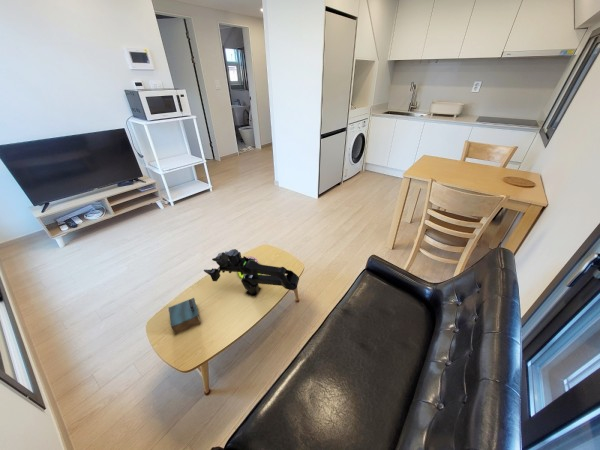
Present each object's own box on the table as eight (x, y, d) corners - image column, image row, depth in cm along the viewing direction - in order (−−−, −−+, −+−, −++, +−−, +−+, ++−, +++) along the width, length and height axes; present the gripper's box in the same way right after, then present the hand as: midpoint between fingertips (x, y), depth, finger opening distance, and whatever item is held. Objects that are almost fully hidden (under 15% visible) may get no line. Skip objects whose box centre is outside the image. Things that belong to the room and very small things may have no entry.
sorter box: (195, 306, 131) (193, 299, 128) (200, 323, 122) (197, 316, 119) (172, 315, 126) (168, 308, 123) (175, 334, 117) (171, 327, 114)
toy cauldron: (253, 260, 162) (251, 247, 156) (266, 271, 153) (265, 258, 147) (234, 270, 154) (231, 258, 148) (246, 283, 145) (244, 270, 139)
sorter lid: (194, 298, 128) (192, 293, 126) (198, 315, 119) (196, 310, 117) (168, 308, 123) (166, 303, 120) (171, 327, 114) (168, 322, 111)
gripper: (236, 244, 135) (212, 243, 138) (220, 267, 120) (193, 265, 123) (241, 259, 141) (217, 258, 144) (226, 282, 126) (201, 280, 129)
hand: (208, 264), depth 135 cm, fingers open, 9 cm apart
